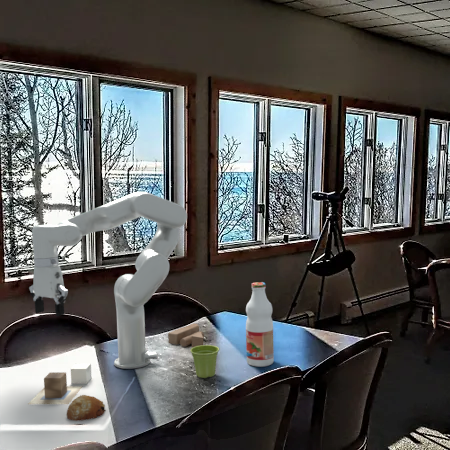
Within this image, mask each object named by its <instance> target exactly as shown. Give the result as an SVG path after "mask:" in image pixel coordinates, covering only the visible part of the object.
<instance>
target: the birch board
mask: <svg viewBox="0 0 450 450" xmlns="http://www.w3.org/2000/svg"><path fill="white" fill-rule="evenodd" d="M81 389H83V386H82V385H81V386H80V385H78V386H75V385H73V386H72V385H71V386H70V385H67V392H66V394H65V395H64V396H63V397H62V398H45V390H44V387H43V388H42V389H41V390H40V391H39V392H38V393H37V394H36V395H35V396H34V397H33V398H32V399H31V400H30V401H29V402H28V403H27V405H70V404H71V403H72V401H73V400H74V399H75V397H76V396H77V394H78V393H79V392H80V391H81Z"/></svg>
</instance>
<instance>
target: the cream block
mask: <svg viewBox="0 0 450 450" xmlns="http://www.w3.org/2000/svg"><path fill="white" fill-rule="evenodd" d="M91 379H92V364H91V363H75V364H74V365H73V366H72V367H71V368H70V382H71V384H88V382H89V381H91Z"/></svg>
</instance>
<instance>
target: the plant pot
mask: <svg viewBox="0 0 450 450" xmlns="http://www.w3.org/2000/svg"><path fill="white" fill-rule="evenodd" d="M219 351H220V348H219V347H218V346H216V345H209V344H205V345H204V344H203V345H201V346H196V347H191V348H190V353H191V356H192V358H193V364H194V369H195V375H196V376H197V377H198V378H203V379H207V378H209V377H210V378H211V377H214V376H215V374H216V368H217V367H216V365H217V359H218V358H217V357H218V354H219V353H218V352H219Z"/></svg>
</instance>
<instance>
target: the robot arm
mask: <svg viewBox="0 0 450 450" xmlns="http://www.w3.org/2000/svg"><path fill="white" fill-rule="evenodd" d="M138 218H144V219H147V220H149V221H151V222H154V223H156V226H157V227H156V232H155V234H154V236H153V237H152V239H151V240H150V242H149V243H148V244H147V245H146V246H145V248H144V249H143V250H142V252H140V253H139V255H138V257H137V258H136V259H135V264H134V266H135V269H136V272H135V273H134V274H133V273H125V274H123V275H120V276H119V277H118V278H117V280H116V281H115V283H114V288H113V294H114V300H115V309H116V330H117V331H116V333H117V350H118V351H117V353H118V355H117V356H118V357H117V358H115V360H114V362H113V363H114V366H115V367H117V368H118V369H126V370H127V369H128V370H131V369H133V370H134V369H140V368H143V367H146V366H149V364H150V363H151V360H158V359H159V353H156V351H152V352H151V351H148V348H147V347H146V328H145V327H146V324H145V307H144V305H145V304H146V303H147V302H148V301H149V300H150V299H151V298H152V296H153V295H154V294H155V292H156V291H157V290H158V289H159V288H160V286H161V285H162V284H163V282H164V281H165V280H166V278H167V276H168V275H169V271H170V262H169V260H168V258H170V255H171V254H172V253H173V251H174V250H175V249H176V247H177V245H178V243H179V240H180V233H181V231H180V228H182V227H183V226H185V224H186V223H187V219H188V213H187V210H186V209H185V208H184V206H182V205H180V204H178V203H176V202H174V201H170V200H168V199H165V198H162V197H160V196H158V195H155V194H153V193H150V192H147V191H136V192H132V193H130V194H127V195H125V196H122V197H121V198H118V199H115V200H113V201H110V202H108V203H106V204H104V205H100V206H98V207H95V208H94V209H90V210H88V211H85V212H82V213H79V214H77V215H75V216H72V217H70V218H67V219H65V220H63V221H61V222H59V223H58V224H57V225H53V224H38V225H34V226H33V227H32V230H31V235H32V237H31V238H32V250H33V262H34V267H33V279H32V280H33V284H32V285H31V286H29V287H28V289H29V291H30V295H31V297H32V300H33V302H34V310H35V314H39V313H44V311H45V302H44V299H43V298H50V299H53V300H54V301H55V304H54V309H55V310H54V312H55V317H60V316H63V315H65V303H66V300H67V297H68V293H69V290H68V289H67V288H65V283H64V278H63V271H62V268H61V266H60V265H59V253H58V252H59V251H58V247H60V246H61V247H73V246H76V245H77V244H79V243H80V241H81V240H82V237H84V236H86V235H90V234H91V233H96V232H100V231H101V232H102V231H108V230H112V229H115V228H117V227H119V226H122V225H124V224H126V223H128V222H130V221H133V220H136V219H138Z"/></svg>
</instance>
